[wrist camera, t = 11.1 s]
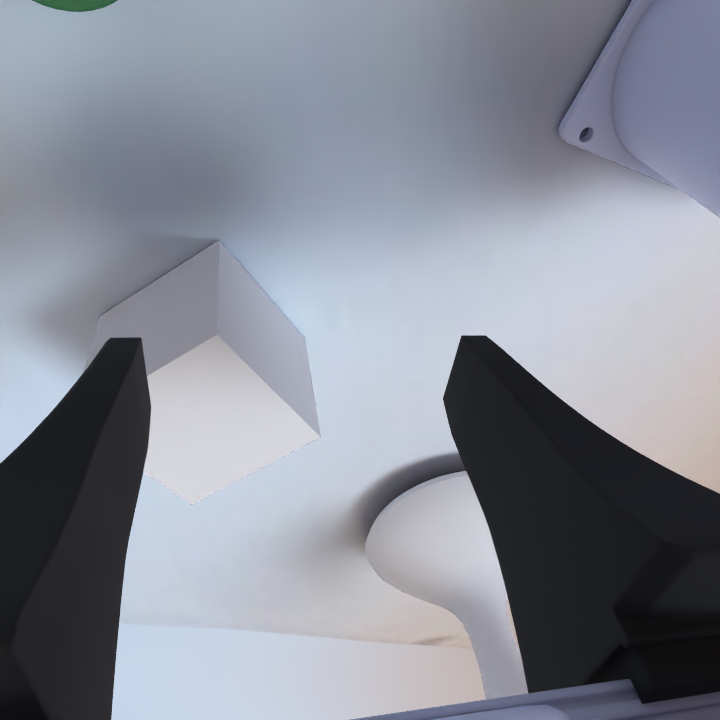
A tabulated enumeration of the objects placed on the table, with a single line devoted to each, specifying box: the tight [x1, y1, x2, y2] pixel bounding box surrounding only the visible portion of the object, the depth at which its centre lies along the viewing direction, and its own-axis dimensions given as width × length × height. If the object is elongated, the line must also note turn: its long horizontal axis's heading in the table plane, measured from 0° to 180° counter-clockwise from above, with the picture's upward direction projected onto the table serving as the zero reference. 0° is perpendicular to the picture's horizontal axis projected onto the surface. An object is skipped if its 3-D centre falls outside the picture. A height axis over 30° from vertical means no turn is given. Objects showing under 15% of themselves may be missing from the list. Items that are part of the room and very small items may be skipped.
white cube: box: [84, 240, 321, 505], centre depth 22 cm, size 6×6×6 cm
